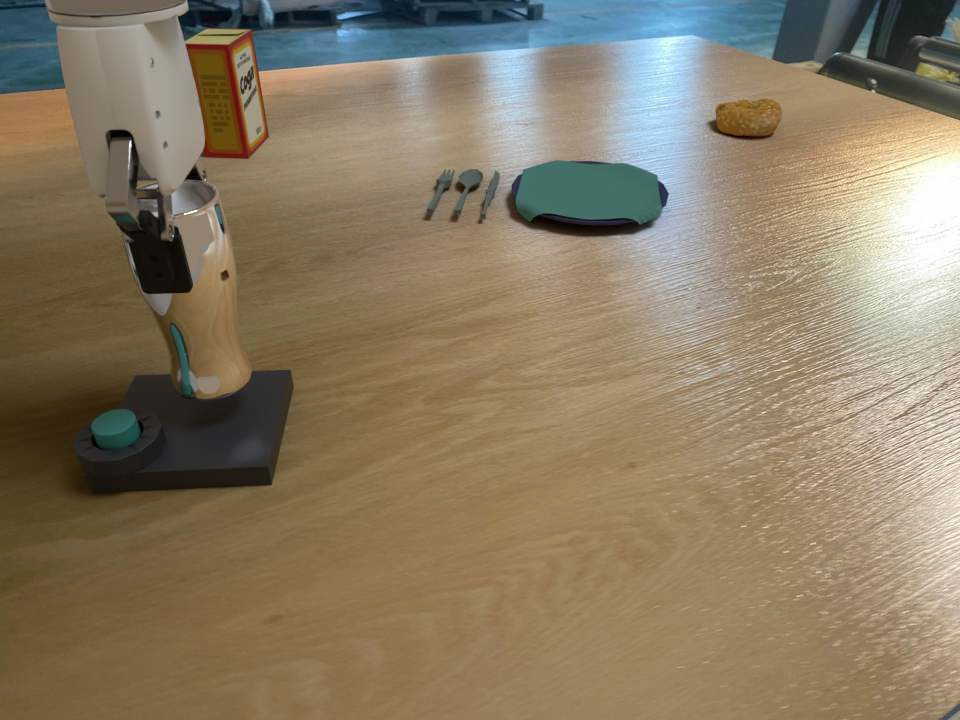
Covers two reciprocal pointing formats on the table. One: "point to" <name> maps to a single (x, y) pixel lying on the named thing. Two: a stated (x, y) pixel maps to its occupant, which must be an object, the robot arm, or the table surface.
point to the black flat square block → (193, 437)
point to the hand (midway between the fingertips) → (183, 262)
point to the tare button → (115, 429)
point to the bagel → (749, 117)
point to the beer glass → (200, 299)
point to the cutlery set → (573, 192)
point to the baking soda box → (228, 91)
